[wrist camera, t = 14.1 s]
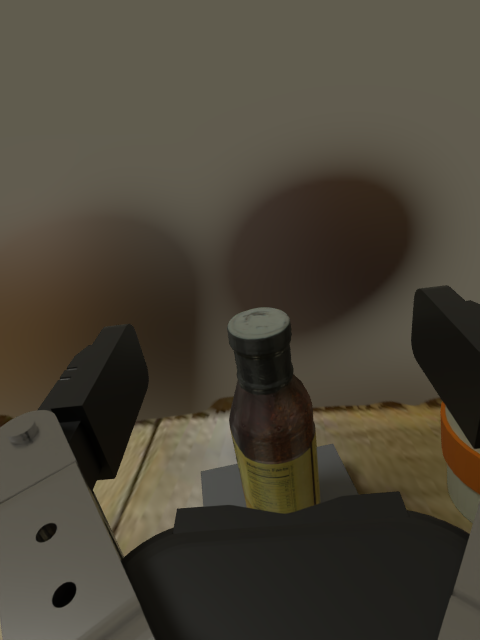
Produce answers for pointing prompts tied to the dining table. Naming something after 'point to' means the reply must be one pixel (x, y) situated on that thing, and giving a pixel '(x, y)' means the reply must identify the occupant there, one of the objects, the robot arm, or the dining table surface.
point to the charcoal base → (228, 489)
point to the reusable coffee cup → (460, 466)
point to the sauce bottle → (271, 416)
